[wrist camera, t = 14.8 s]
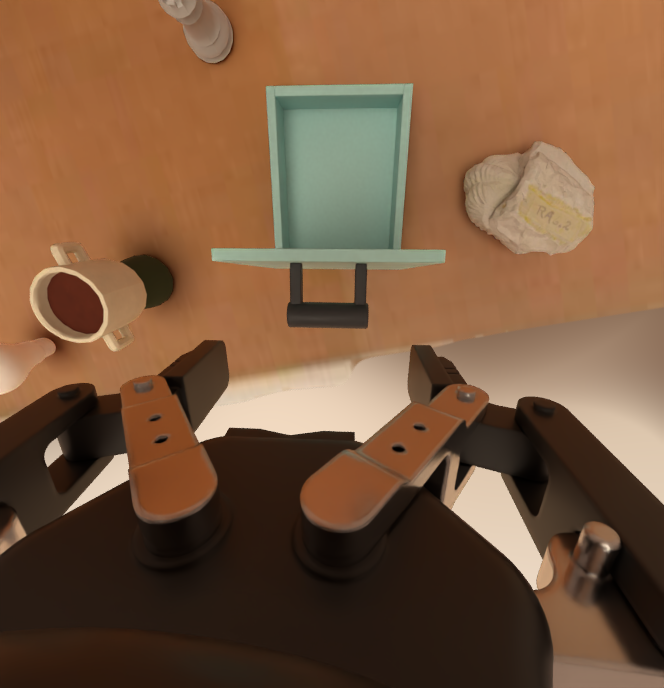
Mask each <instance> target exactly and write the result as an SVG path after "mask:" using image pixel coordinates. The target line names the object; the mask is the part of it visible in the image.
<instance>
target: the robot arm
mask: <svg viewBox="0 0 664 688" xmlns="http://www.w3.org/2000/svg"><path fill="white" fill-rule="evenodd" d="M228 382H229V370H228V362H227V354H226V347H225V343H224V342H223V341H218V340H205V341H203V342H202V343H201V344H200V345H198V346H197V347H196V348H195V349H194V350H193V351H190V352H188V353H186V354H184V355H181V356H180V357H179V358H178V359H177V360H175V362H173V363H172V364H171V365H170V366H168V367H167V368H166V369H164V370H163V371H162V372H161V373H160V374H158V375H157V376H156V375H151V376H143V377H139V378H135V379H132V380H130V381H128V382H126V383H125V384H123V385H122V386H121V388H120V393H119V394H112V395H104V396H97V393H96V390H95V386H94V385H92V384H89V383H78V384H71V385H66V386H63V387H60V388H58V389H55V390H53V391H51V392H49V393H47V394H46V395H44V396H43V397H41V398H39V399H38V400H36V401H35V402H33V403H32V404H30V405H28V406H27V407H25V408H24V409H22V410H20V411H19V412H17V413H16V414H14V415H12V416H11V417H9V418H8V419H6V420H5V421H3V422H1V423H0V688H664V505H663V504H662V503H661V502H660V501H659V500H658V499H657V498H656V497H655V496H654V495H653V494H652V493H651V492H650V491H649V490H648V489H647V488H646V487H645V486H644V485H643V484H642V483H641V482H640V481H639V480H638V479H637V478H636V477H635V476H634V475H633V474H632V473H631V472H630V471H629V470H628V469H627V468H626V467H625V466H624V465H623V464H622V463H621V462H620V461H619V460H618V459H617V458H616V457H615V456H614V455H613V454H612V453H611V452H610V451H609V450H608V449H607V448H606V447H605V446H604V445H603V444H602V443H601V442H600V441H599V440H598V439H597V438H596V437H595V436H594V435H593V434H592V433H591V432H590V431H589V430H588V429H587V428H586V427H585V426H584V425H583V424H582V423H581V422H580V421H579V420H578V419H577V418H576V417H575V416H574V415H573V414H572V413H571V412H570V411H569V410H568V409H566V408H565V407H564V406H562V405H560V404H559V403H556V402H554V401H551V400H548V399H545V398H540V397H523V398H521V399H519V400H518V404H517V407H516V409H514V408H508V407H503V406H498V405H494V404H491V403H488V402H489V396H488V394H487V393H486V392H485V391H483V390H481V389H480V388H477V387H475V386H471V385H467V383H466V382H465V380H464V379H463V377H462V376H461V375H460V374H459V372H458V370H457V369H456V367H455V366H454V364H453V363H452V362H451V361H449V360H447V359H446V358H444V357H437V355H436V354H435V352H434V350H433V349H432V347H431V346H430V345H412V347H411V352H410V362H409V373H408V393H409V396H410V400H411V404H409V405H408V406H407V407H406V408H405V409H403V410H402V411H401V412H400V413H399V414H398V415H397V416H395V417H394V418H393V419H392V420H391V421H389V422H388V423H387V424H386V425H385V426H383V427H382V428H381V429H380V430H379V431H378V432H376V433H375V434H374V435H373V436H372V437H370V438H369V439H368V440H367V441H366V442H365V443H361V442H357V441H355V436H354V435H355V434H354V432H334V431H333V432H332V431H320V432H313V433H305V434H297V435H286V434H281V433H276V432H271V431H267V430H262V429H248V428H229V429H228V431H227V433H226V434H225V436H223V437H217V438H213V439H209V440H205V441H203V442H200V443H199V442H198V440H197V438H196V436H195V434H194V432H195V431H196V430H197V428H198V427H199V426H200V424H201V423H202V421H203V420H204V419H205V417H206V416H207V414H208V413H209V412H210V410H211V409H212V408H213V406H214V405H215V403H216V402H217V401H218V399H219V398H220V397H221V395H222V394H223V392H224V391H225V390H226V388H227V386H228ZM56 438H58V441H59V444H60V447H61V449H62V452H63V454H62V455H61V456H60V457H59V458H58V459H56V460H55V461H54V462H53V463H52V464H51V465H50V466H49V467H47V466H46V463H45V460H44V453H45V450H46V448H47V446H48V445H49V444H50V443H51V442H52V441H53V440H54V439H56ZM124 453H127V455H128V462H129V469H128V472H129V480H128V481H126V482H124V483H122V484H120V485H118V486H116V487H115V488H113V489H111V490H109V491H107V492H106V493H104V494H102V495H100V496H98V497H96V498H94V499H92V500H90V501H89V502H87V503H85V504H83V505H82V506H79V507H77V508H76V509H74V510H72V511H70V512H68V513H67V514H65V515H63V514H64V513H65V512H66V511H67V510H68V508H69V507H70V506H71V505H72V504H73V503H74V502H75V501H76V500H77V498H78V497H79V496H80V495H81V494H82V493H83V492H84V491H85V490H86V488H87V487H88V486H89V485H90V484H91V483H92V482H93V480H94V479H95V478H96V477H97V476H98V475H99V474H100V473H101V471H102V470H103V469H104V468H105V467H106V466H107V465H108V464H109V463H110V461H111V460H112V459H113V457H114V455H118V454H124ZM475 466H477V467H481V468H485V469H489V470H493V471H497V472H500V473H501V476H502V478H503V480H504V482H505V484H506V486H507V488H508V490H509V493H510V495H511V496H512V499H513V500H514V503H515V505H516V507H517V509H518V511H519V513H520V515H521V517H522V519H523V521H524V523H525V525H526V527H527V529H528V531H529V533H530V535H531V537H532V539H533V541H534V543H535V545H536V547H537V549H538V551H539V553H540V555H541V557H542V559H543V561H542V564H541V567H540V570H539V573H538V576H537V588H538V590H533V589H532V587H531V585H530V584H529V583H528V581H527V580H526V579H525V577H524V576H523V574H522V573H521V572H520V571H519V570H518V569H517V567H516V566H515V565H514V564H513V563H512V562H511V561H510V560H509V559H508V558H507V557H506V556H505V555H504V554H502V553H501V552H500V551H499V550H498V549H497V548H495V547H494V546H493V545H492V544H491V543H490V542H488V541H487V540H486V539H485V538H484V537H482V536H481V535H480V534H479V533H478V532H476V531H475V530H474V529H473V528H472V527H471V526H469V525H468V524H467V523H466V522H465V521H464V520H462V519H461V518H460V517H459V516H458V515H456V514H455V513H454V512H453V511H452V510H451V509H452V507H453V505H454V503H455V500H456V499H457V498H458V496H459V494H460V493H461V491H462V489H463V488H464V486H465V485H466V483H467V481H468V480H469V478H470V476H471V475H472V473H473V472H474V470H475ZM62 515H63V516H62Z"/></svg>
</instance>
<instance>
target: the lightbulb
mask: <svg viewBox="0 0 664 688" xmlns="http://www.w3.org/2000/svg"><path fill="white" fill-rule="evenodd" d="M55 350H56V346H55V344H54V342H53V341H51V340H50V339H48V338H39V339H36V340H33V341H25V342H21V343H17V344H5V343H0V395H1V394H4V393H8V392H10V391H12V390H14V389H16V388H17V387H19V386H20V385H21V384H22V383H23V382H24V381H25V379H26V378H27V376H28V374H29V372H30V370H31V369H32V368H33V367H34V366H36V365H37V364H39V363H40V362H42V361H43V360H44V358H46V357H48V356H50V355H52V354H53V353H54V352H55Z"/></svg>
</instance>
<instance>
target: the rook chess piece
mask: <svg viewBox="0 0 664 688" xmlns="http://www.w3.org/2000/svg"><path fill="white" fill-rule="evenodd" d="M159 3H160V5H161V7H162V8H163V9H164V10H165V12H166V13H167V14H169V15H171V16H172V17H174V18H176V20H177V21H179V22H180V23H182V24H183V32H184V34H185V37H186V40H187V42H188V45H189V46H190V47H191V48H192V50H193V51H194V52H195V54H196V55H197V56H198V57H199V58H200V59H202V60H204V61H205V62H208V63H217V62H219V61H221V60H224V58H225V57H226V56H227V55H228V53H229V52H230V49H231V46H232V43H233V30H232V27H231V24H230V21H229V19H228V17H227V16H226V15H225V13H224V12H223V11H222V10H221V9H220V7H219V6H218V5H217V4H215V3H213V2H212V1H210V0H159Z"/></svg>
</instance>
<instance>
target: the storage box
mask: <svg viewBox="0 0 664 688" xmlns="http://www.w3.org/2000/svg"><path fill="white" fill-rule="evenodd" d="M412 92H413V83H405V84H352V85H293V86H266V99H267V116H268V133H269V150H270V167H271V183H272V200H273V217H274V234H275V249H401V238H402V225H403V211H404V198H405V185H406V172H407V158H408V145H409V132H410V119H411V106H412Z"/></svg>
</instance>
